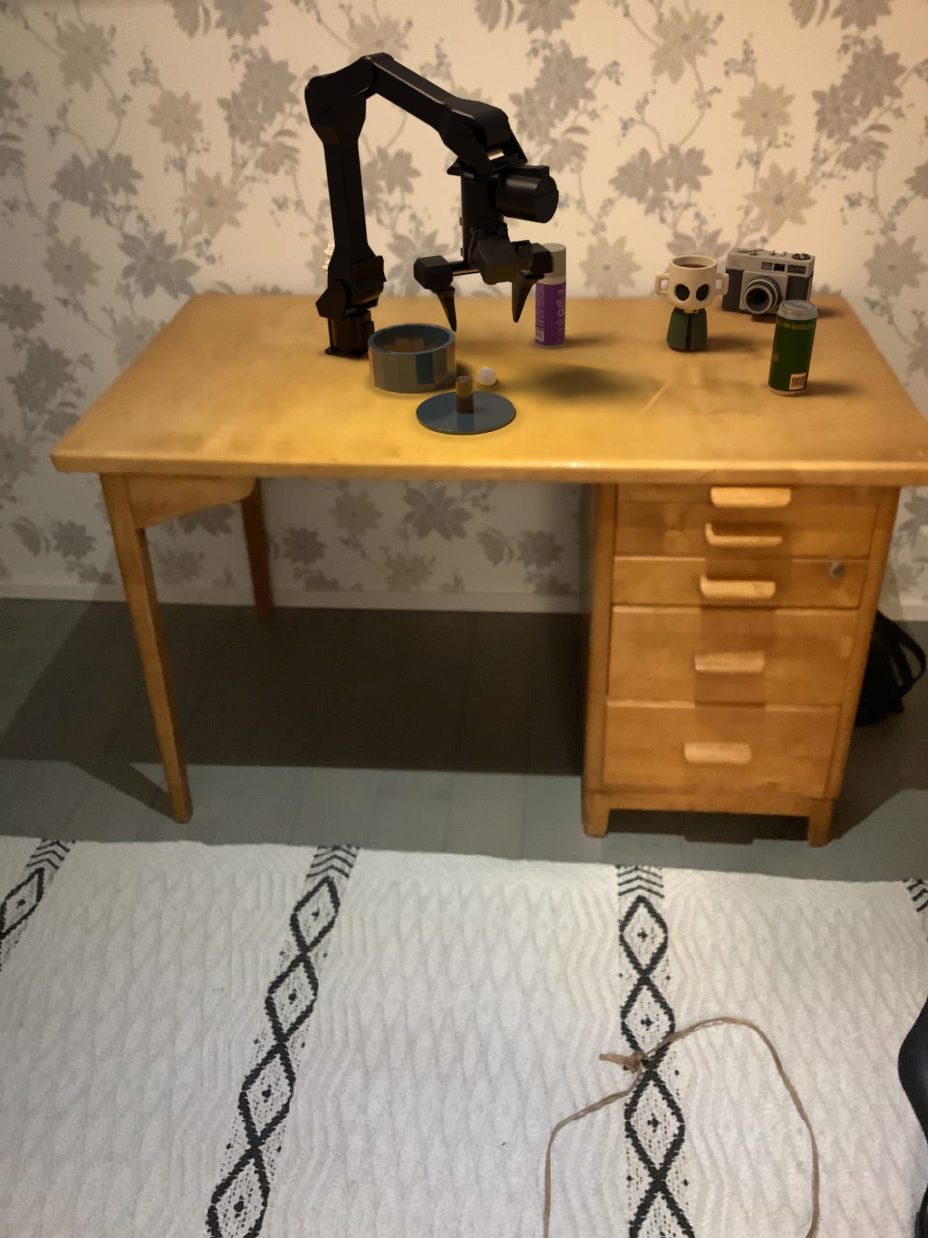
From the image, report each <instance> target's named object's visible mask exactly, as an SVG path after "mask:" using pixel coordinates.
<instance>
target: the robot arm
mask: <svg viewBox="0 0 928 1238" xmlns="http://www.w3.org/2000/svg"><path fill="white" fill-rule="evenodd" d="M303 92H304V94H303V97H304V104H305V108H306V111H307V117H308V120H309V125H310V127H311V128H312V130H313V131H314V133H315V134H316V135H317V137H318V139H319V140H320V142H321V143H322V147H323V154H324V156H323V157H324V165H325V173H326V181H327V190H328V198H329V207H330V216H331V224H332V225H331V226H332V235H333V238H334V244H335V247H334V251H333V253H332V256H331V259H330V262H329V265H328V268H327V272H326V273H327V275H326V282H327V283H326V284H327V285H326V289H325V290H324V291H323V292H322V293H321V295H319V298H317V300H316V301H315V304H314V305H315V307H316V308H315V309H316V310H317V313H318V316H319V317H320V318H323V319H326V320H327V329H328V339H329V346H328V347H327V348H325V349H324V353H325V354H328V355H334V356H340V357H345V358H346V357H347V358H352V359H361V358H362V357H364V356H365V355H368V343H367V342H368V339H369V337H370V335H372V334H373V333H375V332H376V329H375V321H374V320H372V319H373V318H372V310H371V309H372V308H376V307H377V306H378V304H379V300H380V296H381V294H382V293H383V292H384V288H385V283H386V282H387V281H388V280H387V278H386V273H385V258H384V256H383V255H381V254H379V255H377V254H376V253H375V251H374V250H373V249H372V247H371V246H370V245H369V241H368V230H367V220H366V209H365V200H364V190H363V180H362V178H363V177H362V170H361V168H362V167H361V158H360V150H359V149H360V148H359V147H360V146H359V140H360V137H361V133H362V131H363V127H364V125H365V122H366V119H367V100H369V99H370V98H372V97H374V96H376V95H379V97H382V98H383V99H385V100H387V101H388V102H390V103H391V104H393V105H394V106H396V107H398V108H400V109H401V110H403V111H405V112H406V113H408V114H410V115H411V116H412V117H414V118H416V119H417V120H419V121H421V122H422V123H424V124H426V125H428V126H429V127H431V128H432V129H433V130H434V131H435V132H436V133H438V135H439V137H440V139H441V141H442V143H443V145H444V146H445V147H446V148H447V149H448V150H450V151H451V152H452V153H453V154H454V155H455V156H456V159H455V161H454V162H453V163H452V164H451V165H450V166H449V167H448V168H447V169H446V175H448V176H454V177H459V178H460V205H461V211H460V212H461V216H459V219H458V220H459V226H460V227H461V237H462V238H461V242H462V247H460V251H459V253H460V256H461V257H462V260H455V261H454V260H453V261H448V260H447V259H446V258H445V257H444V256H442V255H441V254H439V255H430V256H423V257H417V259H415V261H414V262H413V266H412V268H413V269H412V271H413V279H414V280H415V281H416V282H417V283H418V285H420V286H421V287H422V288H423V289H424V290H429V291H430V292H431V293H432V294H435V295H436V296H437V298H438V300H439V302H440V305H441V307H442V309H443V312H444V314H445V317H446V319H447V322H448V324H449V327H450V330H451V331H452V332H453V333H457V328H458V320H457V312H456V304H455V294H456V288H455V286H453V285H452V283H453V282H454V277H460V276H468V275H475V274H479V275H480V277H481V280H482V282H483V283H484V284H485V285H488V286H495V285H497V284H500V283H501V284H502V283H509V284H510V283H511V316H512V321H513V322H514V323H515V324H517V323H519V321H520V318H521V316H522V312H523V310H524V308H525V304H526V301H527V300H528V296H529V294H530V292H531V290H532V288H533V287H534V286H535V283H536V282H537V281H539V280H542V279H544V277H545V275H544V274H547V273H552V272H554V257H553V254H552V253H551V252H550V251H549V250H548V249H546V248H545V247H543V246H542V245H541V244H542V243H539V242H531V240H530V239H522V240H513V241H511V238H510V236H509V227H508V223H507V222H506V221H505V218H508V219H514V220H520V221H525V222H531V223H537V224H547V223H549V222H550V221H551V220H552V219H553V218H554V216H555V214H556V212H557V209H558V207H559V201H560V190H559V189H558V185H557V182H556V180H555V178H554V177H552V176H551V174H550V173H551V172H550V171H551V167H550V165H547V164H538V165H533V164H528V163H529V159H528V157H527V156H526V153H525V152H524V150H523V147H522V146H521V144H520V142H519V141H518V138H517V136H516V135H515V133H514V132H513V129H512V128H511V127H512V126H511V124H510V121H509V119H510V118H509V116H508V115H507V113H506V112H505V111H504V110H503V109H502V108H500V107H498V106H495V105H492V104H489V103H486V102H483V101H480V100H474V99H467V98H462V97H459V96H457V95H454V94H452V93H450V92H449V91H447V90H445V89H444V88H443V87H441V86H440V85H438V84H436V83H434V82H432V81H430V80H429V79H427V78H425V77H424V76H422V75H421V74H419V73H417V72H416V71H413V70H412V69H410V68H409V67H407V66H406V65H403V64H402V63H401V62H399V61H397V60H395V58H394V57H393V55H391V54H390V53H387V52H384V51H381V52H375V53H371V54H366V55H362V56H360V57H358V59H357V60H355V61H353V62H352V63H350V64H348V65H346V66H344V67H342V68H340V69H338V70H336V71H333V72H328V73H323V74H320V75H316V76H313V77H312V78H310V79H308V82H307V84H306V85H305V86H304V91H303ZM500 154H503V155H501V156H498V155H500ZM494 156H497V157H495V158H491V157H494ZM490 158H491V159H490Z"/></svg>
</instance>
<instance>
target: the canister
mask: <svg viewBox="0 0 928 1238" xmlns="http://www.w3.org/2000/svg"><path fill="white" fill-rule="evenodd" d="M456 339H457V337H456V334H455V332H453V331H452V329H451V328H447V327H445V326H441V325H439V324H432V323H427V322H426V323H425V322H413V323H411V322H410V323H409V322H408V323H407V322H406V323H401V324H394V325H390V326H386V327H383V328H379V329H377V330H375V333H373V334H372V335H370V337H369V339H368V342H367V343H368V353H367V355H368V362H369V363H368V365H369V376H370V381H371V382H372V384H373V386H374V387H376V388H378V389H380V390H382V391H385V392H389V393H394V394H400V395H401V394H405V395H406V394H409V395H411V394H413V395H415V394H421V393H422V394H423V393H428V392H436V391H438V390H441V389H443V388H446V387H448V386H450V385H451V384H452V383H454V382H455V379H456V378H457V374H458V369H457V366H458V365H457V345H456V344H457V343H456V342H457V341H456Z"/></svg>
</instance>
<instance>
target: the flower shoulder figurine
mask: <svg viewBox="0 0 928 1238" xmlns="http://www.w3.org/2000/svg"><path fill="white" fill-rule="evenodd" d="M334 247H335V243H334V235H331V240H330V239H328V244H327V248H326V249H323V252H324V254H325V255H326V257H325V260H326V261H324V264H323V265H322V275H326V276H327V268H328V265H329V262H330V259H331V256H332V253H333V251H334Z"/></svg>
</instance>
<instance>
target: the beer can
mask: <svg viewBox="0 0 928 1238" xmlns="http://www.w3.org/2000/svg"><path fill="white" fill-rule="evenodd" d="M817 310H818V305H817V304H816V303H814V302H812V301H804V300H789V301H784V302H782V303H781V304H780V308H779V310H778V312H777V317H775V327H774V334H773V341H772V348H771V355H770V364H769V370H768V379H767V386H768V389H769V391H770V392H772V393H773V394H775V395H779V396H785V397H795V396H799V395H801V394H803V393H804V392H805V390H806V389H807V386H808V380H809V374H810V368H811V362H812V354H813V348H814V343H815V342H814V341H815V336H816V335H815V334H816V330H817V322H818V316H819V313H818V311H817Z"/></svg>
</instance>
